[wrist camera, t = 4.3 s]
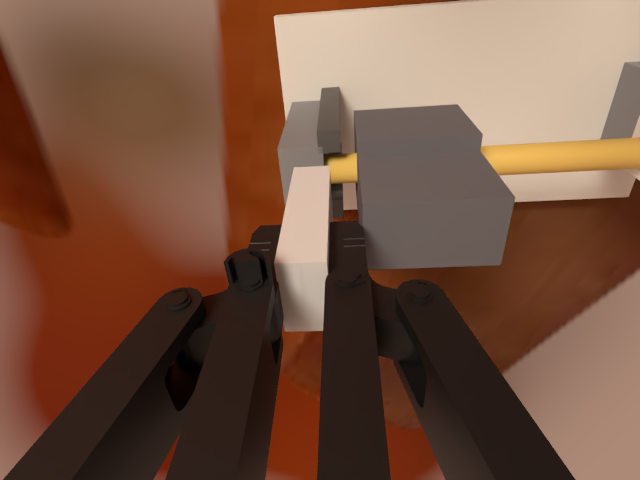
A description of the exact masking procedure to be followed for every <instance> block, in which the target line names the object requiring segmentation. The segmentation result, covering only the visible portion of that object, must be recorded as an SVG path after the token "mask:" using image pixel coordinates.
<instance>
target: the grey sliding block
mask: <svg viewBox="0 0 640 480" xmlns="http://www.w3.org/2000/svg"><path fill="white" fill-rule="evenodd" d="M482 137H483V134H482V133H481V132H480V130H479V129H478V128H477V127H476V126H475V124H474V123H473V122H472V121H471V120H470V118H469V117H468V116H467V115H466V114H465V113H464V111H463V110H462V109H461V108H460V107H459V105H458V104H452V105H436V106H419V107H403V108H387V109H371V110H354V143H355V153H357V183H356V197H357V209H358V221H359V224H360V225H361V226H362V227H363V228H364V236H365V246H366V256H367V266H368V270H379V269H407V268H435V267H463V266H491V265H501V262H502V257H503V253H504V248H505V244H506V239H507V234H508V230H509V225H510V220H511V216H512V211H513V206H514V202H515V196H514V195H513V193H512V192H511V191H510V190H509V188H508V187H507V186H506V184H505V183H504V182H503V180H502V179H501V178H500V176H499V175H498V174H497V172H496V171H495V170H494V168H493V167H492V166H491V164H490V163H489V162H488V160H487V159H486V158H485V156H484V155H483V154H482V152H481V151H480V150H481V144H482Z"/></svg>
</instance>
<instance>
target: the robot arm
mask: <svg viewBox="0 0 640 480" xmlns="http://www.w3.org/2000/svg"><path fill="white" fill-rule="evenodd" d="M224 265H225V269H226V273H227V278H228V282H229V286H228V289H227V290H225V291H223V292H220V293H217V294H213V295H209V296H205V297H202V295H201V293H200V292H199V291H198V290H196V289H193V288H178V289H175V290H172V291H170V292H168V293H166V294H164V295H163V296H162V297H161V298H160V299H159V300H158V301H157V302H156V303H155V304H154V305H153V307H152V308H151V309H150V310H149V311H148V312H147V314H146V315H145V316H144V317H143V318H142V320H141V321H140V322H139V323H138V324H137V325H136V326H135V327H134V329H133V330H132V331H131V332H130V333H129V334H128V336H127V337H126V338H125V339H124V340H123V341H122V342H121V344H120V345H119V346H118V347H117V348H116V349H115V351H114V352H113V353H112V354H111V355H110V356H109V358H108V359H107V360H106V361H105V362H104V363H103V365H102V366H101V367H100V368H99V369H98V370H97V371H96V373H95V374H94V375H93V376H92V377H91V378H90V380H89V381H88V382H87V383H86V384H85V385H84V387H83V388H82V389H81V390H80V391H79V392H78V393H77V395H76V396H75V397H74V398H73V399H72V401H71V402H70V403H69V404H68V405H67V406H66V407H65V408H64V410H63V411H62V412H61V413H60V414H59V416H58V417H57V418H56V419H55V420H54V421H53V422H52V424H51V425H50V426H49V427H48V428H47V429H46V430H45V432H44V433H43V434H42V435H41V436H40V437H39V439H38V440H37V441H36V442H35V443H34V444H33V446H32V447H31V448H30V449H29V450H28V451H27V453H26V454H25V455H24V456H23V457H22V458H21V459H20V461H19V462H18V463H17V464H16V465H15V466H14V468H13V469H12V470H11V471H10V472H9V473H8V475H7V476H6V477H5V478H4V479H3V480H153V479H154V477H155V475H156V474H157V472H158V470H159V469H160V467H161V465H162V463H163V462H164V460H165V458H166V456H167V455H168V453H169V451H170V449H171V448H172V446H173V444H174V443H175V441H176V439H177V437H178V436H179V434H180V436H179V439H178V442H177V445H176V449H175V452H174V455H173V458H172V461H171V464H170V467H169V470H168V473H167V476H166V479H165V480H265V476H266V469H267V462H268V455H269V446H270V439H271V431H272V424H273V417H274V410H275V403H276V395H277V387H278V380H279V373H280V366H281V358H282V351H283V338H282V326H283V324H284V330H285V331H323V346H322V371H321V396H320V422H319V446H318V471H317V472H318V473H317V480H391V479H390V468H389V459H388V448H387V440H386V439H387V438H386V429H385V419H384V409H383V399H382V389H381V379H380V370H379V360H378V355H379V356H383V357H387V358H390V359H393V362H394V365H395V367H396V370H397V372H398V374H399V376H400V378H401V381H402V383H403V385H404V387H405V390H406V392H407V394H408V396H409V399H410V401H411V403H412V405H413V408H414V410H415V412H416V414H417V417H418V419H419V421H420V423H421V425H422V428H423V430H424V432H425V434H426V436H427V439H428V441H429V443H430V446H431V448H432V450H433V452H434V454H435V457H436V459H437V461H438V463H439V466H440V468H441V470H442V472H443V475H444V477H445V479H446V480H575V478H574V477H573V476H572V474H571V473H570V471H569V470H568V468H567V467H566V466H565V464H564V463H563V461H562V460H561V458H560V457H559V456H558V454H557V453H556V451H555V450H554V448H553V447H552V446H551V444H550V443H549V441H548V440H547V439H546V437H545V436H544V434H543V433H542V431H541V430H540V429H539V427H538V426H537V424H536V423H535V421H534V420H533V419H532V417H531V416H530V414H529V413H528V411H527V410H526V409H525V407H524V406H523V405H522V403H521V401H520V400H519V399H518V397H517V396H516V394H515V393H514V391H513V390H512V389H511V387H510V386H509V384H508V383H507V381H506V380H505V379H504V377H503V376H502V374H501V373H500V371H499V370H498V369H497V367H496V366H495V364H494V363H493V361H492V360H491V359H490V357H489V356H488V354H487V353H486V351H485V350H484V349H483V347H482V346H481V344H480V343H479V342H478V340H477V339H476V337H475V336H474V334H473V333H472V332H471V330H470V329H469V327H468V326H467V324H466V323H465V322H464V320H463V319H462V317H461V316H460V314H459V313H458V312H457V310H456V309H455V307H454V306H453V304H452V303H451V302H450V300H449V299H448V297H447V296H446V294H445V293H444V292H443V290H442V289H441V288H440V287H438V286H437V285H436V284H434V283H431V282H429V281H425V280H410V281H407V282H404V283H402V284H401V285H400V286H399V287H398V288H397V289H392V288H388V287H384V286H381V285H379V284H377V283H376V282H375V281H373V280H372V279H371V277H370V276H369V273H368V266H367V256H366V246H365V236H364V228H363V227H362V226H361V225H360V224H359V223H358V222H357V221H347V222H333V212H332V194H331V176H330V166H312V167H294V169H293V174H292V178H291V183H290V188H289V193H288V198H287V203H286V208H285V212H284V217H283V222H282V225H266V226H260V227H259V228H258V229H257V230H256V231H255V232H254V233H253V234H252V237H251V241H250V244H249V247H248V249H242V250H239V251H236V252H234V253H232V254H231V255H230V256H228V257H227V258H226V260H225V261H224ZM180 432H181V433H180Z"/></svg>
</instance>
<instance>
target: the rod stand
mask: <svg viewBox="0 0 640 480" xmlns="http://www.w3.org/2000/svg"><path fill="white" fill-rule="evenodd" d="M274 24H275V32H276V41H277V49H278V58H279V66H280V75H281V83H282V92H283V100H284V109H285V117H286V123H285V127H284V130H283V133H282V136H281V139H280V143H279V146H278V149H277V150H278V157H279V164H280V172H281V179H282V187H283V194H284V202H285V208H286V203H287V198H288V193H289V188H290V183H291V178H292V174H293V169H294V167H312V166H330V176H331V194H332V212H333V218H344V210H353V209H357V197H356V183H357V153H355V143H354V110H371V109H387V108H403V107H419V106H436V105H452V104H458V105H459V107H460V108H461V109H462V110H463V111H464V113H465V114H466V115H467V116H468V117H469V118H470V120H471V121H472V122H473V123H474V124H475V126H476V127H477V128H478V129H479V130H480V132H481V133H482V134H483V137H482V144H481V150H480V151H481V152H482V154H483V155H484V156H485V158H486V159H487V160H488V162H489V163H490V164H491V166H492V167H493V168H494V170H495V171H496V172H497V174H498V175H499V176H500V178H501V179H502V180H503V182H504V183H505V184H506V186H507V187H508V188H509V190H510V191H511V192H512V193H513V195H514V196H515V202H528V201H550V200H572V199H594V198H616V197H629V195H630V192H631V190H632V187H633V184H634V182H635V179H636V178H637V179H638V180H639V181H640V0H463V1H451V2H438V3H425V4H412V5H399V6H386V7H374V8H361V9H348V10H335V11H322V12H310V13H297V14H284V15H276V16H274Z"/></svg>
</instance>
